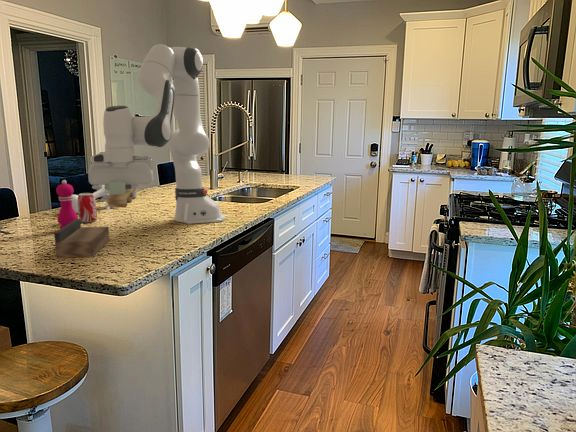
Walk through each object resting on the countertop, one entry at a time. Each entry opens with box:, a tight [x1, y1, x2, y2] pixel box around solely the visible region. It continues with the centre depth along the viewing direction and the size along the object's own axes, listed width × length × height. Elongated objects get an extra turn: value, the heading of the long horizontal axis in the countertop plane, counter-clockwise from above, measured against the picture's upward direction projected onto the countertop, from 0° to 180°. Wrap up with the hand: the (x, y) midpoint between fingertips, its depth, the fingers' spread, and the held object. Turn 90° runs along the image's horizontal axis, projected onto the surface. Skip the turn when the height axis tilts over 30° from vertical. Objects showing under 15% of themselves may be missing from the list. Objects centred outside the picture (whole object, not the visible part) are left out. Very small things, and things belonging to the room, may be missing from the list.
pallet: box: [108, 188, 137, 209], centre depth 147 cm, size 5×18×4 cm, turn 8°
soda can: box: [77, 192, 98, 224], centre depth 187 cm, size 7×7×12 cm
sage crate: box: [109, 181, 126, 195], centre depth 140 cm, size 4×4×4 cm
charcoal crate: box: [125, 184, 133, 189], centre depth 152 cm, size 4×4×4 cm
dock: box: [53, 218, 110, 258], centre depth 148 cm, size 11×20×8 cm, turn 8°
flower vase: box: [72, 185, 111, 215], centre depth 209 cm, size 13×18×25 cm
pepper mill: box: [55, 179, 79, 230], centre depth 171 cm, size 7×7×20 cm
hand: (122, 197), depth 147 cm, fingers closed on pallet, 5 cm apart
